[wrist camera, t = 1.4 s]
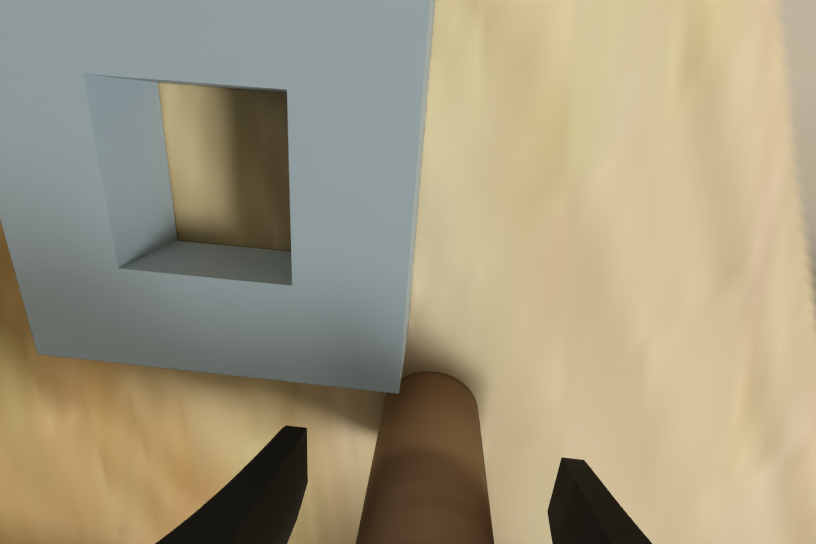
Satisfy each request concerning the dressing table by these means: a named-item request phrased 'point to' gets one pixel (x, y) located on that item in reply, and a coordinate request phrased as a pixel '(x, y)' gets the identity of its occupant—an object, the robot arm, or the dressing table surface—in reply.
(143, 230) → the socket block
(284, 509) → the robot arm
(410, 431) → the peg
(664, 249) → the dressing table surface
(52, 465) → the dressing table surface
